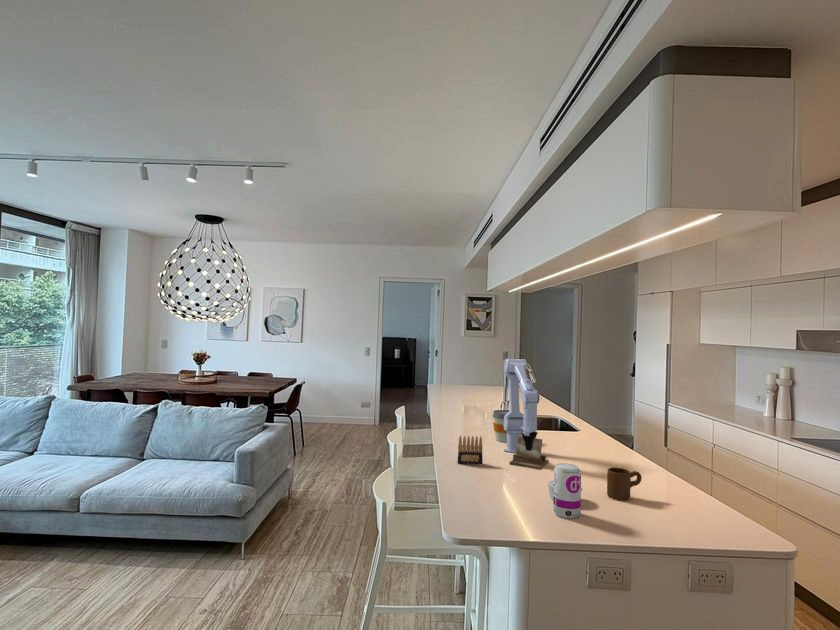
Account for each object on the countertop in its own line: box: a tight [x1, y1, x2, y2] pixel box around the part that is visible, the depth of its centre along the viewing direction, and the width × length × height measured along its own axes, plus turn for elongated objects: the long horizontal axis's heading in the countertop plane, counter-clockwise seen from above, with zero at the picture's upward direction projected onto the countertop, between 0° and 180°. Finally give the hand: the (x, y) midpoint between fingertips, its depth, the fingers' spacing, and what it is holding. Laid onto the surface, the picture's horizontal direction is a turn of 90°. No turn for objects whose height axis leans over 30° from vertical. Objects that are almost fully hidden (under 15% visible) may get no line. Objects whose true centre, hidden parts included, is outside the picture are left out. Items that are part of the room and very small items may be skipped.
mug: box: [606, 467, 643, 501], centre depth 170 cm, size 12×8×9 cm, turn 94°
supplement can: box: [552, 462, 582, 520], centre depth 153 cm, size 8×8×15 cm
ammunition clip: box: [457, 435, 484, 465], centre depth 209 cm, size 11×2×12 cm, turn 90°
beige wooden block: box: [515, 435, 543, 458], centre depth 212 cm, size 3×10×8 cm, turn 66°
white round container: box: [547, 479, 583, 502], centre depth 166 cm, size 11×11×5 cm
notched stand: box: [509, 453, 550, 470], centre depth 211 cm, size 14×13×4 cm
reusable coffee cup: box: [492, 409, 518, 444], centre depth 255 cm, size 13×12×15 cm
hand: (529, 449), depth 212 cm, fingers closed on beige wooden block, 3 cm apart
